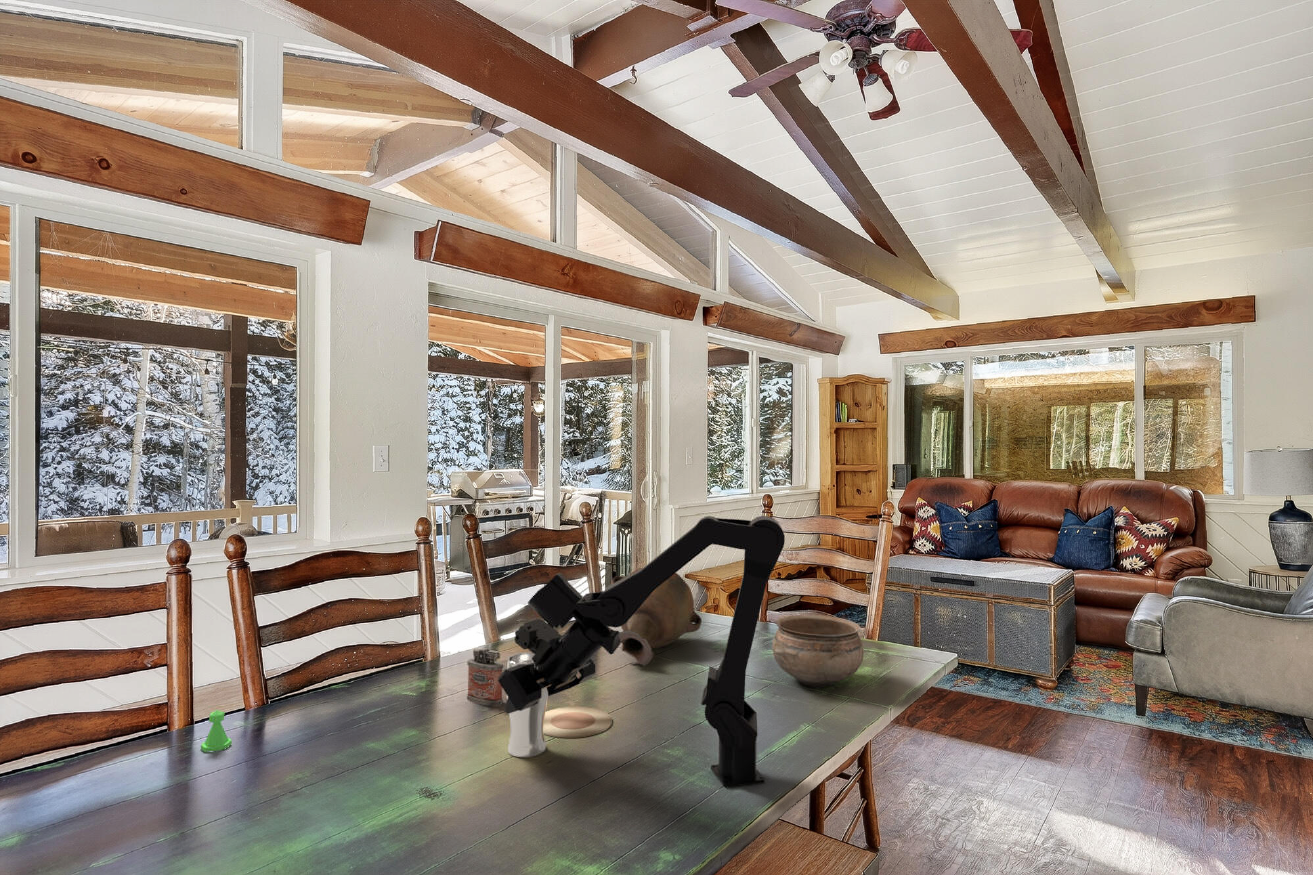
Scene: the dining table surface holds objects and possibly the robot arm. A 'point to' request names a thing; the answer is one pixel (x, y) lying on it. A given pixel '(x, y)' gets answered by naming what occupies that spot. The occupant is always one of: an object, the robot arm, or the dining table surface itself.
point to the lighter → (484, 678)
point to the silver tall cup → (527, 716)
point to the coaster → (575, 722)
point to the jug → (659, 619)
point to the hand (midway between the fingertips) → (520, 704)
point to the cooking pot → (818, 648)
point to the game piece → (216, 734)
